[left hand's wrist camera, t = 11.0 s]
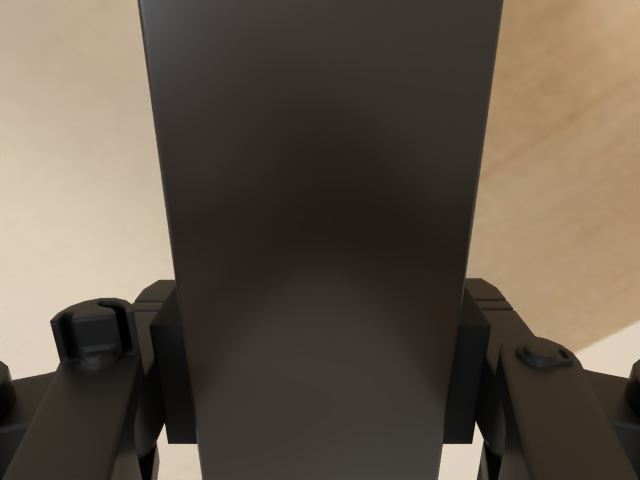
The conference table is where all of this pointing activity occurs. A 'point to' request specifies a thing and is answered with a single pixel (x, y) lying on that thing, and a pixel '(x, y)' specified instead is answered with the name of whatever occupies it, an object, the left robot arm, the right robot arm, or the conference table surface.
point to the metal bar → (320, 222)
